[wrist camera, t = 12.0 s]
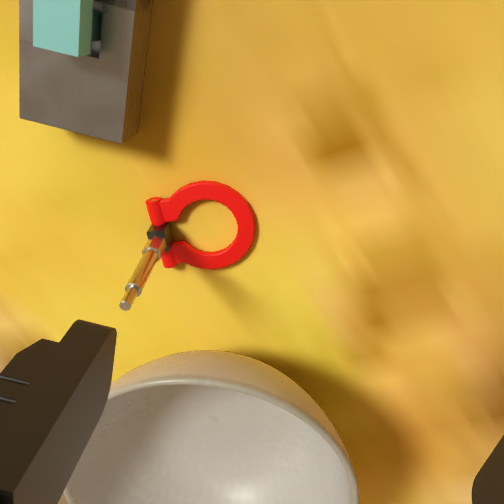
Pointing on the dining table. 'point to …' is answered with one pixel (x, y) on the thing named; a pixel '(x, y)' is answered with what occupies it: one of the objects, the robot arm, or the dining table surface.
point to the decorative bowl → (212, 438)
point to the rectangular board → (88, 74)
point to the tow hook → (181, 251)
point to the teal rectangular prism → (66, 26)
